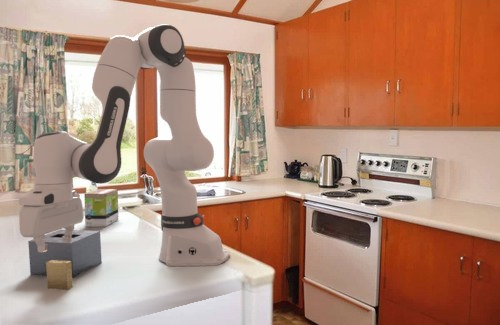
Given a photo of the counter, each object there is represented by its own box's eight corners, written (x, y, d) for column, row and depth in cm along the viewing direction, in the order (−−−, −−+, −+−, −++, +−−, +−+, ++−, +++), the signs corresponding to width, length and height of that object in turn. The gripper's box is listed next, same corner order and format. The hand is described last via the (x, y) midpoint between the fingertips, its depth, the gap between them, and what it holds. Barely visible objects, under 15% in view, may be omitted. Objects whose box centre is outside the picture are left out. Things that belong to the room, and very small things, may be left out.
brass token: (72, 287, 110) (71, 261, 109) (67, 289, 108) (66, 263, 107) (52, 285, 111) (51, 260, 111) (47, 288, 109) (46, 262, 109)
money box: (101, 262, 130) (100, 231, 129) (73, 278, 117) (71, 243, 116) (62, 260, 133) (60, 229, 132) (30, 275, 120) (28, 241, 119)
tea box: (107, 226, 180) (106, 193, 179) (84, 227, 180) (82, 193, 179) (119, 219, 195) (117, 188, 194) (98, 219, 195) (96, 188, 194)
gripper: (68, 189, 118) (70, 237, 119) (13, 199, 98) (15, 256, 99) (88, 189, 117) (89, 238, 118) (36, 199, 97) (38, 258, 98)
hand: (55, 246), depth 108 cm, fingers open, 8 cm apart
